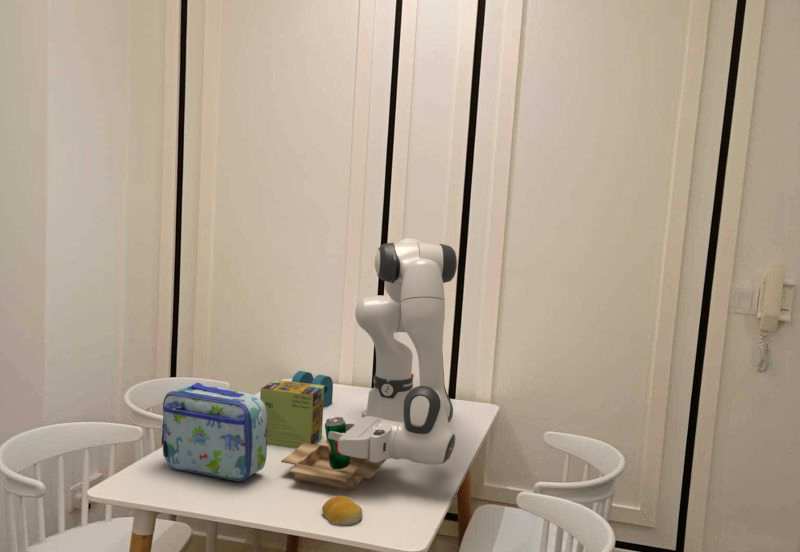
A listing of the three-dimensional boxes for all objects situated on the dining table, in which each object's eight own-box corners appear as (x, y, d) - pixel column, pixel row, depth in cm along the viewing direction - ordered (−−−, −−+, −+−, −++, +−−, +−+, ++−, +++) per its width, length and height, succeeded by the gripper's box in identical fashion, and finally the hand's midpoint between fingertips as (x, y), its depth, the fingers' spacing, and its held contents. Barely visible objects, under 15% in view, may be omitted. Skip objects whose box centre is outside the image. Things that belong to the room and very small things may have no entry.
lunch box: (154, 467, 177) (156, 384, 174) (183, 454, 187) (185, 375, 184) (244, 490, 167) (247, 402, 165) (269, 474, 177) (272, 391, 175)
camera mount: (305, 398, 241) (307, 368, 240) (331, 404, 237) (333, 373, 236) (272, 412, 226) (274, 379, 224) (300, 418, 221) (301, 385, 220)
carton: (310, 451, 194) (311, 437, 193) (392, 465, 188) (393, 451, 187) (272, 483, 172) (272, 467, 171) (362, 500, 166) (363, 484, 165)
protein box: (310, 450, 195) (313, 394, 193) (257, 443, 198) (259, 388, 196) (322, 438, 205) (325, 385, 203) (271, 431, 208) (273, 378, 206)
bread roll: (335, 530, 151) (336, 512, 151) (317, 512, 159) (318, 495, 158) (369, 522, 156) (370, 504, 155) (350, 505, 163) (351, 488, 163)
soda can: (331, 464, 182) (325, 417, 181) (351, 462, 181) (345, 415, 181) (329, 471, 176) (323, 423, 176) (349, 468, 176) (343, 420, 176)
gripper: (400, 414, 184) (349, 406, 188) (375, 438, 165) (318, 430, 168) (398, 438, 185) (348, 430, 189) (373, 465, 165) (317, 456, 169)
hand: (334, 430), depth 178 cm, fingers closed on soda can, 5 cm apart
